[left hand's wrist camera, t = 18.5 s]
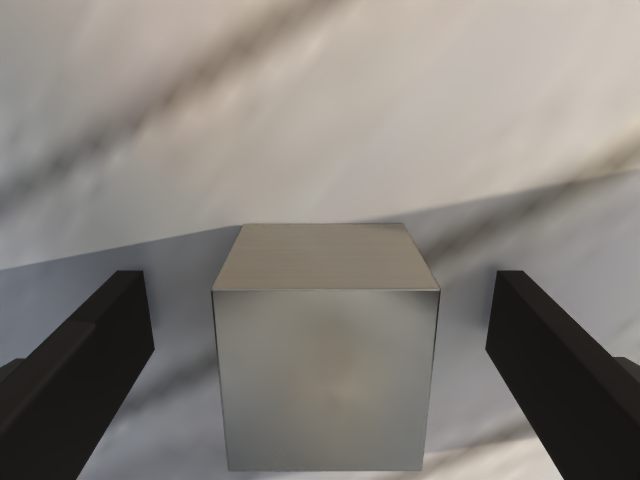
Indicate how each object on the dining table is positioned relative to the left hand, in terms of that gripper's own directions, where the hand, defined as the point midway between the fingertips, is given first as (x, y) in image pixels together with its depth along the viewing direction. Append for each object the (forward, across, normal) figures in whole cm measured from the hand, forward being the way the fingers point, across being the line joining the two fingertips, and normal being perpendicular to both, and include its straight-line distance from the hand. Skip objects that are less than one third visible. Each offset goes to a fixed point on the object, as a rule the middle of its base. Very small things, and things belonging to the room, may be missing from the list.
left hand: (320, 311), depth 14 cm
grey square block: (+1, 0, 0) cm, 1 cm away
